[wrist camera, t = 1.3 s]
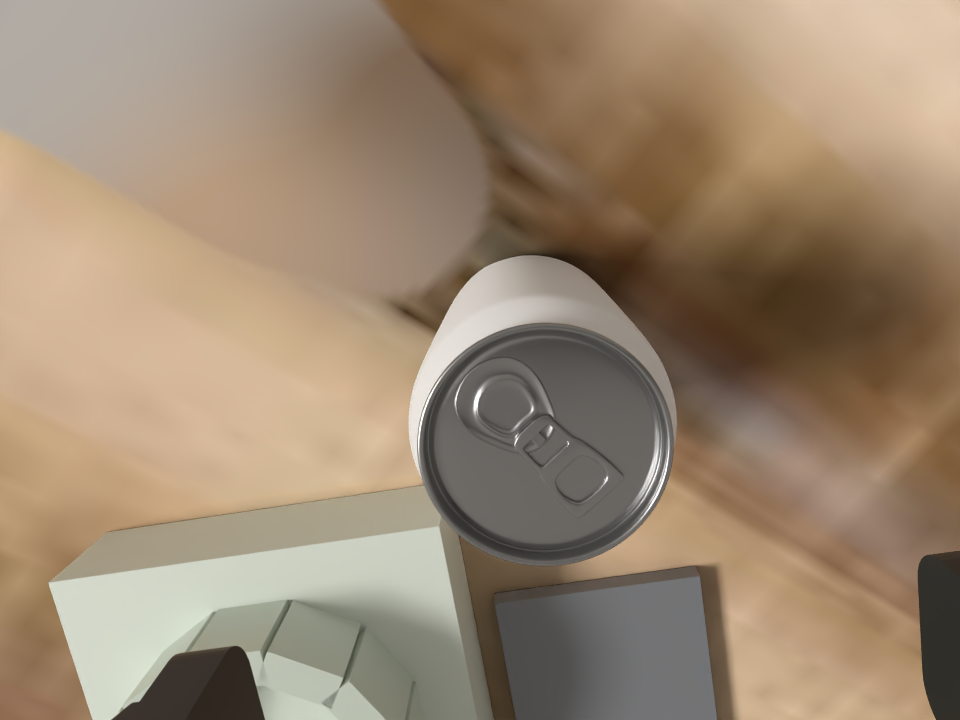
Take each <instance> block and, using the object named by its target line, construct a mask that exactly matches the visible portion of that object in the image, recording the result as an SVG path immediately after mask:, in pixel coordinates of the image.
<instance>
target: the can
mask: <svg viewBox="0 0 960 720" xmlns="http://www.w3.org/2000/svg"><path fill="white" fill-rule="evenodd" d="M676 429H677V415H676V406H675V399H674V395H673V391H672V387H671V384H670V381H669V378H668V376H667V373H666V371H665V368H664V366H663V364H662V362H661V360H660V359H659V357H658V355H657V354H656V352H655V351H654V349H653V348H652V346H651V345H650V343H649V342H648V341H647V339H646V338H645V337H644V335H643V334H642V333H641V332H640V331H639V330H638V328H637V327H636V326H635V325H634V324H633V323H632V321H631V320H630V319H629V318H628V317H627V316H626V315H625V313H624V312H623V311H622V310H621V309H620V308H619V307H618V306H617V304H616V303H615V302H614V301H613V300H612V299H611V298H610V297H609V296H608V295H607V294H606V293H605V291H604V290H603V289H602V288H601V287H600V286H599V285H598V284H597V283H596V282H595V281H594V280H593V279H592V278H590V277H589V276H588V275H587V274H585V273H584V272H583V271H581V270H580V269H578V268H576V267H575V266H573V265H571V264H569V263H566V262H564V261H561V260H558V259H555V258H551V257H545V256H536V255H526V256H517V257H512V258H508V259H504V260H501V261H498V262H496V263H493V264H491V265H489V266H487V267H485V268H483V269H482V270H480V271H479V272H478V273H477V274H475V275H474V276H473V277H472V278H471V279H470V280H469V281H468V282H467V283H466V284H465V286H464V287H463V288H462V289H461V291H460V292H459V294H458V295H457V296H456V298H455V300H454V301H453V303H452V305H451V306H450V308H449V310H448V312H447V314H446V316H445V318H444V320H443V322H442V324H441V326H440V328H439V330H438V332H437V334H436V336H435V338H434V340H433V342H432V344H431V346H430V348H429V350H428V352H427V354H426V356H425V359H424V361H423V363H422V365H421V368H420V370H419V373H418V375H417V378H416V381H415V384H414V387H413V391H412V396H411V401H410V409H409V438H410V445H411V450H412V454H413V458H414V461H415V464H416V467H417V469H418V472H419V474H420V476H421V478H422V480H423V483H424V486H425V488H426V491H427V493H428V495H429V497H430V499H431V501H432V503H433V505H434V506H435V508H436V509H437V511H438V512H439V514H440V515H441V516H442V518H443V519H444V520H445V521H446V523H447V524H448V525H449V526H450V527H451V528H452V529H453V530H454V531H455V532H456V533H457V534H458V535H460V536H461V537H462V538H463V539H465V540H466V541H467V542H469V543H470V544H472V545H473V546H475V547H476V548H478V549H480V550H482V551H484V552H485V553H488V554H490V555H492V556H494V557H497V558H500V559H503V560H506V561H509V562H513V563H518V564H523V565H530V566H559V565H567V564H572V563H576V562H580V561H584V560H587V559H590V558H593V557H595V556H598V555H600V554H602V553H604V552H606V551H608V550H610V549H612V548H613V547H615V546H617V545H618V544H620V543H621V542H622V541H624V540H625V539H627V538H628V537H629V536H630V535H631V534H633V533H634V532H635V531H636V530H637V529H638V528H639V527H640V526H641V525H642V524H643V523H644V521H645V520H646V519H647V518H648V517H649V515H650V514H651V513H652V511H653V510H654V508H655V507H656V505H657V503H658V502H659V500H660V498H661V496H662V494H663V492H664V490H665V487H666V484H667V482H668V479H669V475H670V471H671V467H672V461H673V452H674V445H675V439H676Z"/></svg>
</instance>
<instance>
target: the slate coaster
mask: <svg viewBox="0 0 960 720" xmlns="http://www.w3.org/2000/svg"><path fill="white" fill-rule="evenodd" d="M495 609H496V615H497V620H498V625H499V631H500V636H501V642H502V647H503V652H504V658H505V663H506V669H507V674H508V679H509V685H510V690H511V696H512V701H513V706H514V712H515V717H516V720H717V715H716V707H715V698H714V690H713V682H712V673H711V665H710V657H709V648H708V640H707V632H706V623H705V615H704V607H703V598H702V590H701V582H700V575H699V573H698V571H697V569H696V567H695V566H691V567H684V568H676V569H669V570H662V571H654V572H647V573H640V574H632V575H625V576H618V577H610V578H603V579H596V580H589V581H581V582H574V583H567V584H559V585H552V586H545V587H537V588H530V589H523V590H515V591H508V592H501V593H495Z"/></svg>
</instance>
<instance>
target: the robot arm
mask: <svg viewBox="0 0 960 720" xmlns="http://www.w3.org/2000/svg"><path fill="white" fill-rule="evenodd" d="M918 592H919V612H920V631H921V651H922V670H923V680H924V686H925V690H926V694H927V697H928V701H929V704H930V706H931V709H932V711H933V714H934V716H935V718H936V720H960V551H954V552H947V553H939V554H932V555H926V556H924V557H923V558H922V559H921V561H920V564H919V567H918ZM111 720H265V717H264V714H263V710H262V706H261V702H260V699H259V695H258V691H257V687H256V684H255V680H254V676H253V672H252V669H251V665H250V662H249V659H248V657H247V654H246V653H245V651H244V650H243V649H242V648H241V647H239V646H229V647H222V648H214V649H207V650H199V651H192V652H184V653H178V654H175V655H174V656H173V657H172V658H171V659H170V660H169V661H168V662H167V664H166V665H165V667H164V668H163V669H162V671H161V672H160V674H159V675H158V676H157V678H156V679H155V680H154V682H153V683H152V685H151V686H150V687H149V689H148V690H147V692H146V693H145V694H144V696H143V697H142V699H141V700H140V701H139V702H133V703H131V704H130V705H128V706H127V707H126V708H125V709H124V710H122V711H121V712H120V713H119V714H117V715H116V716H115V717H114V718H113V719H111Z"/></svg>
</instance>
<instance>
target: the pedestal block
mask: <svg viewBox="0 0 960 720" xmlns="http://www.w3.org/2000/svg"><path fill="white" fill-rule="evenodd" d="M49 586H50V589H51V592H52V595H53V599H54V602H55V605H56V608H57V611H58V614H59V617H60V620H61V623H62V626H63V630H64V633H65V636H66V639H67V642H68V645H69V648H70V651H71V654H72V657H73V660H74V664H75V667H76V670H77V673H78V676H79V679H80V682H81V685H82V688H83V691H84V694H85V698H86V701H87V704H88V707H89V710H90V713H91V716H92V719H93V720H111V719H113V718H114V717H115V716H116V715H117V714H119V713H120V712H121V711H122V710H124V709H125V708H126V707H127V706H128V705H130V704H131V703H133V702H139V701H140V700H141V699H142V697H143V696H144V694H145V693H146V692H147V690H148V689H149V687H150V686H151V685H152V683H153V682H154V680H155V679H156V678H157V676H158V675H159V674H160V672H161V671H162V669H163V668H164V667H165V665H166V664H167V662H168V661H169V660H170V659H171V658H172V657H173V656H174V655H175V654H178V653H184V652H192V651H199V650H207V649H214V648H222V647H229V646H239V647H241V648H242V649H243V650H244V651H245V653H246V654H247V657H248V659H249V662H250V665H251V669H252V672H253V676H254V680H255V684H256V687H257V691H258V695H259V699H260V702H261V706H262V710H263V714H264V717H265V720H494V717H493V711H492V706H491V701H490V696H489V691H488V685H487V680H486V675H485V670H484V665H483V659H482V654H481V649H480V644H479V639H478V633H477V628H476V623H475V618H474V613H473V607H472V602H471V597H470V592H469V587H468V582H467V576H466V571H465V566H464V561H463V556H462V550H461V545H460V540H459V535H458V534H457V533H456V532H455V531H454V530H453V529H452V528H451V527H450V526H449V525H448V524H447V523H446V521H445V520H444V519H443V518H442V516H441V515H440V514H439V512H438V511H437V509H436V508H435V506H434V505H433V503H432V501H431V499H430V497H429V495H428V493H427V491H426V488H425V486H424V485H422V486H415V487H408V488H402V489H395V490H388V491H381V492H375V493H368V494H361V495H354V496H348V497H341V498H334V499H328V500H321V501H314V502H307V503H301V504H294V505H287V506H280V507H274V508H267V509H260V510H253V511H247V512H240V513H233V514H226V515H220V516H213V517H206V518H200V519H193V520H186V521H179V522H173V523H166V524H159V525H152V526H146V527H139V528H132V529H125V530H119V531H112V532H107V533H105V534H104V535H103V536H102V537H101V538H100V539H98V540H97V541H96V542H95V543H94V544H93V545H92V546H90V547H89V548H88V549H87V550H86V551H85V552H83V553H82V554H81V555H80V556H79V557H78V558H76V559H75V560H74V561H73V562H72V563H71V564H69V565H68V566H67V567H66V568H65V569H64V570H63V571H61V572H60V573H59V574H58V575H57V576H56V577H54V578H53V579H52V580H51V581H50V582H49Z"/></svg>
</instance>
